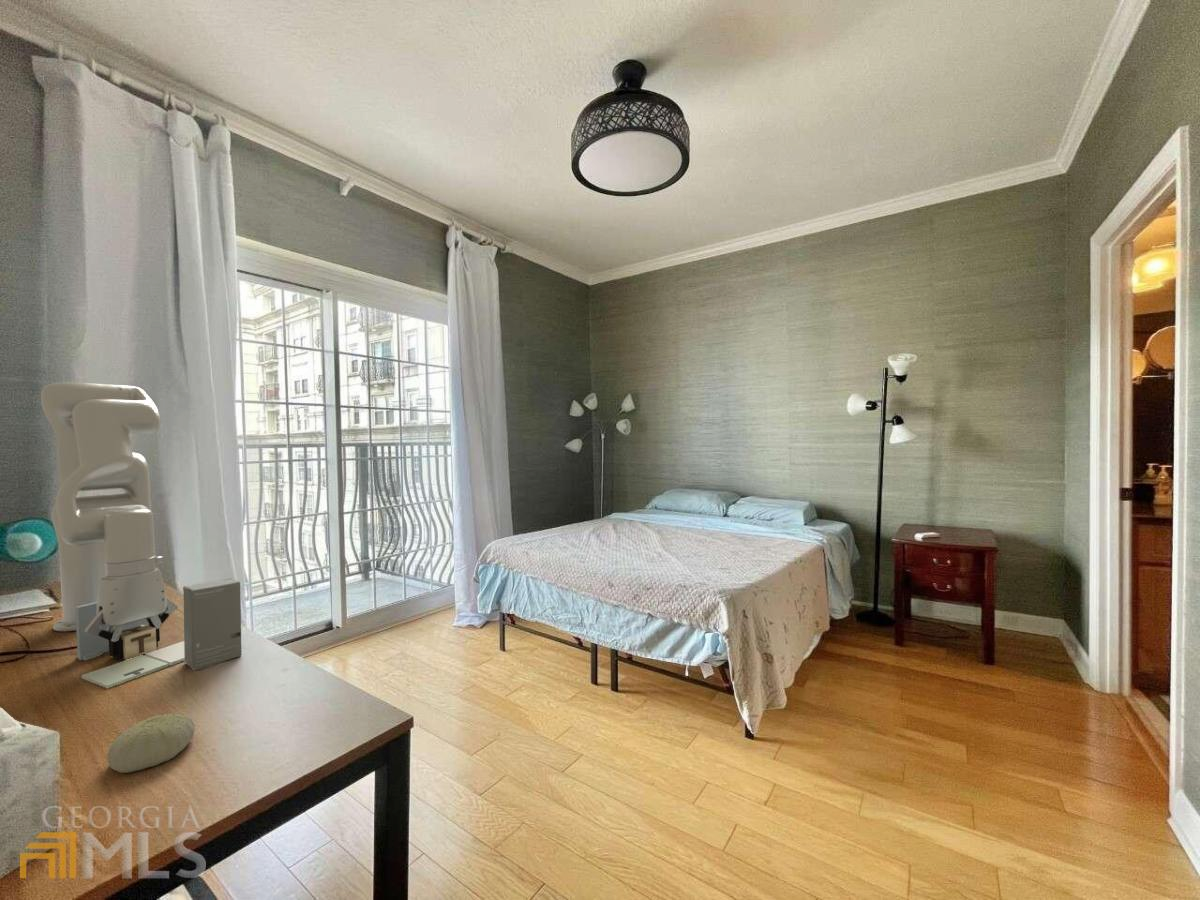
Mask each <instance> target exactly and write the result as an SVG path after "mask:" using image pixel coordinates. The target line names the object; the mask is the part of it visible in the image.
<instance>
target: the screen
mask: <svg viewBox="0 0 1200 900" xmlns="http://www.w3.org/2000/svg"><path fill="white" fill-rule="evenodd" d="M96 603H97V602H94V603H90V604H86V605H81V606H77V607H75V611H76V630H75V631H76V646H77V654H76V656H77V657H76V658H77V659H78V660H80V661H82V660H83V661H88V660H92V659H95V658H98V657H101V656H102V654H105V653H108V652H109V641H108V640H107V639H105V638H102V637H100V636H97V635H93V634H90V633H87V632H85V628H86V627H87V626H88V625H89V624H90V622H91V621H92V620H93V619H94V618H95V616H96ZM140 625H147V626H149V625H148V623H147V620H146V619H143V620H139V621H136V622H132V623H128V624H125V625H123V628H122V631H123V630H126V629H130V628H133V627H137V626H140ZM99 629H102V630H105V631H107V629H108V627H107V626H106V624H105V625H100V626H99ZM107 651H108V652H107ZM104 652H105V653H104ZM101 653H102V654H101ZM100 655H101V656H100ZM97 656H98V657H97Z"/></svg>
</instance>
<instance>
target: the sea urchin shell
mask: <svg viewBox="0 0 1200 900" xmlns="http://www.w3.org/2000/svg"><path fill="white" fill-rule="evenodd" d="M195 731H196V730H195V723H194V722H193V720H192V719H191V718H190V717H189V716H186V715H182V714H179V713H171V714H169V713H167V714H166V713H165V714H159V715H158V714H157V715H154V716H152V717H149V718H146V719H144V720H140V721H139V722H138V723H136V724H134V725H133V726H131V727H129V728H127V729H126V730H124V731H123V732H120V734H119V735H118V736H117V737H116V738H115V739H114V740H113V742H112V743H111V745H110V747H109V749H108V752H107V754H106V756H107V757H106V759H107V763H108V764H109V766H110V769H112V770H113V771H117V772H118V773H121V774H123V773H125V774H129V773H130V774H131V773H133V772H136V771H142V770H144V769H147V768H152V767H154V766H155V767H156V766H158V765H159V764H162V763H165V762H168V761H170V760H171V759H173V758H175V757H176V756H177V755H179V753H181V752H182V751H184V750H185V748H186V747H187V745H189V743H190V742H191V741H192V740H193V737H194V735H195V734H194V733H195Z"/></svg>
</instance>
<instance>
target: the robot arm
mask: <svg viewBox="0 0 1200 900" xmlns="http://www.w3.org/2000/svg"><path fill="white" fill-rule="evenodd" d="M40 402H41V408H42V410H43V413H44V416H45V418H46V419H47V421H48V422H49V424H50V426H51V427H52V430H53V431H54V434H55V437H56V448H57V449H56V451H57V452H56V453H57V468H58V479H59V483H60V486H59V489H58V491H57V493H56V496H55V497H56V499H55V505H54V506H53V507H52V509H51V512H50V513H51V517H50V518H51V521H52V526H53V529H54V531H55V532H54V533H55V536H56V540H57V545H58V555H59V557H58V559H59V573H60V575H59V576H60V592H61V609H62V610H61V611H62V619H60V620H58V621H55V623H53V625H52V626H53V627H52V628H53V630H54V631H56V632H72V631H73V632H74V631H77V630H76V611H75V607H77V606H81V605H86V604H90V603H94V602H97V603H96V616H95V618H94V619H93V620H92V621H91V622H90V624H89V625H88V626H87V627H86V628H85V632H87V633H90V634H93V635H97V636H100V637H102V638H105V639H107V640H108V641H109V651H108V655H109V656H110V657H112V658H113V659H115V660H118V661H119V660H122V659H123V641H122V640H121V639H120V634H121V631H122V628H123V625H125V624H128V623H132V622H136V621H139V620H143V619H146V620H147V623H148V625H149V626H151V627H154V628H156V647H157V648H158V647H159V642H160V640H161V636H160V632H161V631H160V629H161V628H162V627H163V624H164V622H166V621H167V620H168V618H169V617H170V615H171V614H172V613H173V612H175V611H176V610H177V609H178V605H177V604H175V602H172V601H171V600H170V599H169V598H167V593H166V587H165V583H164V582H165V581H164V579H163V578H164V577H163V575H162V573H161V572H162V571H160V568H158V564H160V563H163V562H164V556H157V555H156V544H155V543H156V542H155V539H156V538H155V521H154V519H155V518H154V513H153V511H152V499H151V497H152V496H151V481H150V480H151V479H150V469H149V464H148V462H147V461H148V460H147V459H146V457H144V456H143V455H142V454H141V453H138V452H134V451H133V448H132V444H131V438H130V436H150V435H152V436H153V435H154V434H156V433H158V431H159V430H160V427H161V416H160V412H159V410H158V407H157V405H156V404H155V402H154V401H153V400H152V398H151V397H150V396H149V395H148V394H147V393H146V391H145V390H144V389H142V388H140V387H139V386H135V385H126V384H125V385H124V384H111V383H110V384H109V383H108V384H107V383H95V382H80V381H79V382H77V381H73V382H72V381H63V382H53V383H49V384H47V385H45V386H44V387H43V388H42V389H41V392H40ZM117 489H121V490H123V491H124V493H115V494H98V495H89V496H86V495H85V496H78V493H79V492H90V491H104V490H105V491H106V490H117ZM105 624H106V626H107V627H108V629H107V631H105V630H102V629H99V626H100V625H105Z"/></svg>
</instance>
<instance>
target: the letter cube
mask: <svg viewBox="0 0 1200 900" xmlns="http://www.w3.org/2000/svg"><path fill="white" fill-rule="evenodd" d="M120 639H121V640H122V641H123V659H125V660H127V659H130V658H134V657H137V656H140V655H143V654H147V653H150V652H153V651H156V650H158V649H157V648H158V647H156V628H154V627H151V626H147V625H140V626H137V627H133V628H130V629H126V630H123V631H121V634H120ZM125 660H124V661H125Z"/></svg>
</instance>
